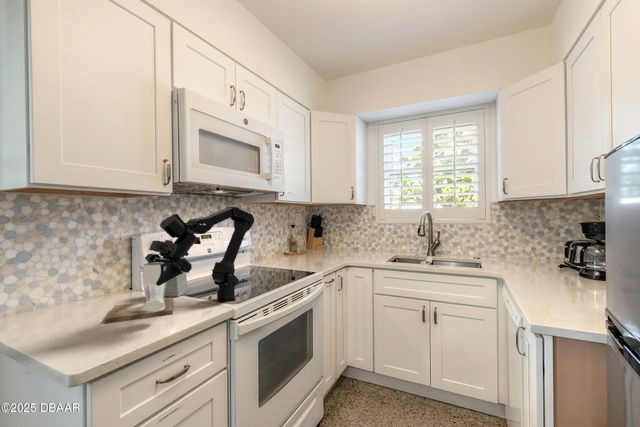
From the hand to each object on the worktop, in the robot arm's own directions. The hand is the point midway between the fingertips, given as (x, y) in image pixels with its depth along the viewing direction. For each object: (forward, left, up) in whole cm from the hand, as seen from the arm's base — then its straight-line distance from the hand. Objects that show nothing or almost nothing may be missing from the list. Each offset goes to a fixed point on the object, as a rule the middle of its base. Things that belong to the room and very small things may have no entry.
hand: (150, 283), depth 93 cm
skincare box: (-6, -36, -13) cm, 39 cm away
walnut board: (+4, -16, -13) cm, 21 cm away
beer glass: (-1, -1, -9) cm, 9 cm away
